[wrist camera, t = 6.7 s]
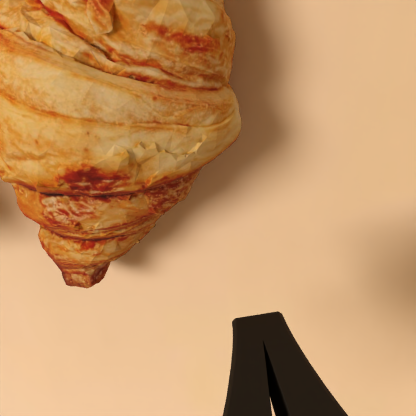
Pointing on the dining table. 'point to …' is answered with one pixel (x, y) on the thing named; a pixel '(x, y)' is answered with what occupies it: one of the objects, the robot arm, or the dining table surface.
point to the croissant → (110, 117)
